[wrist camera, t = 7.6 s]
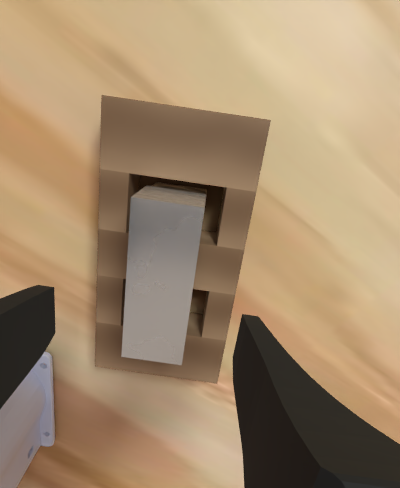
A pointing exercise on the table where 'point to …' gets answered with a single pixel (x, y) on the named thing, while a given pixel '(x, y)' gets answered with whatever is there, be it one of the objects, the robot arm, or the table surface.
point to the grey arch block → (161, 270)
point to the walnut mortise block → (211, 243)
